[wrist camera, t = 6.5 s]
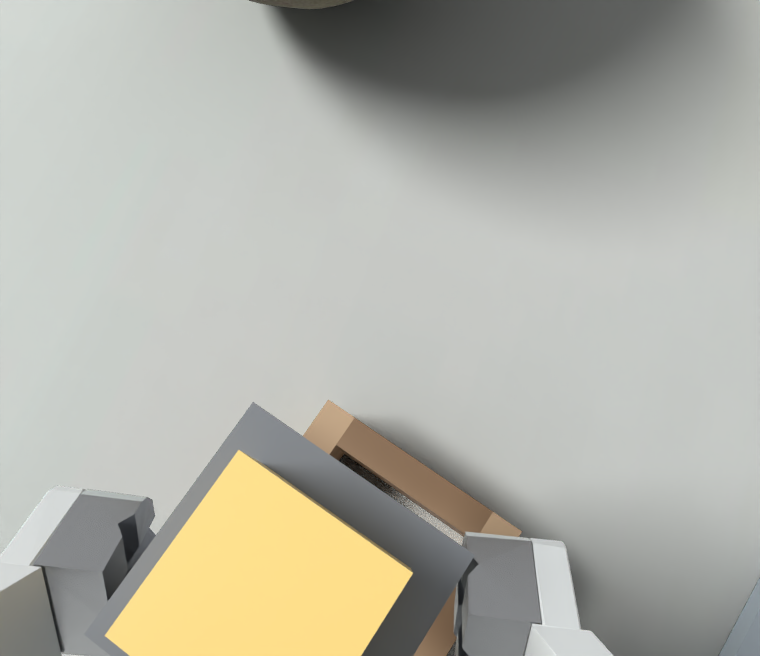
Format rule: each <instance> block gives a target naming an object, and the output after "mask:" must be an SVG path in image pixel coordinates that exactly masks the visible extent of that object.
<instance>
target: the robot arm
mask: <svg viewBox="0 0 760 656" xmlns="http://www.w3.org/2000/svg"><path fill="white" fill-rule="evenodd" d="M154 517H155V513H154V507H153V501H152V499H150V498H148V497H144V496H136V495H129V494H121V493H114V492H107V491H99V490H92V489H87V490H86V489H79V488H72V487H65V486H58V485H57V486H55V487H53V488H52V489H50V490H49V491H48V492H47V493H46V494H45V495H44V497H43V498H42V500H41V501H40V502H39V504H38V505H37V506H36V508H35V509H34V510H33V512H32V513H31V515H30V516H29V517H28V519H27V520H26V521H25V523H24V524H23V525H22V527H21V528H20V530H19V531H18V532H17V534H16V535H15V536H14V538H13V539H12V540H11V542H10V543H9V545H8V546H7V547H6V549H5V550H4V551H3V553H2V554H1V555H0V656H62V654H73V655H84V656H110V655H109V654H108V653H106V652H105V651H104V650H103V649H101V648H100V647H99V646H98V645H96V644H95V643H94V642H93V641H91V640H90V639H89V638H88V637H86V636H85V635H84V633H85V632H86V631H87V629H88V628H89V627H90V625H91V624H92V622H93V621H94V620H95V618H96V617H97V616H98V614H99V613H100V611H101V610H102V609H103V607H104V606H105V605H106V603H107V602H108V600H109V599H110V598H111V596H112V595H113V594H114V592H115V591H116V589H117V588H118V587H119V585H120V584H121V583H122V581H123V580H124V579H125V577H126V576H127V574H128V573H129V572H130V570H131V569H132V568H133V566H134V565H135V563H136V562H137V561H138V559H139V558H140V557H141V555H142V554H143V552H144V551H145V550H146V548H147V547H148V546H149V544H150V543H151V541H152V540H153V539H154V537H155V536H156V535H155V534H154V533H153V532H152V530H151V529H150V528H149V527H150V525H151V523H152V521H153V519H154ZM462 547H464V548H465V549H467V550H468V551H470V552H471V553H473V554H474V555H475V556H474V557H473V559H472V561H471V562H470V564H469V566H468V567H467V569H466V570H465V572H464V574H463V575H462V577H461V579H460V580H459V582H458V584H457V585H456V593H455V603H454V634H455V636H456V637H457V641H456V647H455V654H454V656H614V655H613V654H612V653H611V652H610V651H609V650H608V649H607V648H606V646H605V645H604V644H603V643H602V642H601V641H600V640H599V639H598V637H597V636H596V635H595V634H594V633H593V632H592V631H589V630H582V629H581V624H580V619H579V613H578V608H577V602H576V597H575V592H574V586H573V581H572V575H571V570H570V565H569V559H568V554H567V548H566V545H565V544H564V543H563V541H556V540H546V539H536V538H530V539H528V538H523V537H514V536H504V535H494V534H484V533H474V532H465V535H464V538H463V544H462ZM61 653H62V654H61Z"/></svg>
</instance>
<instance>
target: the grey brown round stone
mask: <svg viewBox="0 0 760 656" xmlns="http://www.w3.org/2000/svg"><path fill="white" fill-rule="evenodd" d="M249 1H253V2H256V3H260V4H266V5H272V6H280V7H289V8H300V9H321V8H326V7H332V6H337V5H340V4H344V3H347V2H351V1H354V0H249Z"/></svg>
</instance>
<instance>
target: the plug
mask: <svg viewBox="0 0 760 656" xmlns="http://www.w3.org/2000/svg"><path fill="white" fill-rule="evenodd" d="M474 556H475V555H474V554H473V553H471V552H470V551H468V550H467V549H465V548H464V547H462V546H461V545H460V544H458V543H457V542H455V541H454V540H452V539H451V538H449V537H448V536H447V535H445V534H444V533H442V532H441V531H439V530H438V529H436V528H435V527H434V526H432V525H431V524H429V523H428V522H426V521H425V520H423V519H422V518H420V517H419V516H418V515H416V514H415V513H413V512H412V511H410V510H409V509H407V508H406V507H405V506H403V505H402V504H400V503H399V502H397V501H396V500H394V499H393V498H391V497H390V496H389V495H387V494H386V493H384V492H383V491H381V490H380V489H378V488H377V487H376V486H374V485H373V484H371V483H370V482H368V481H367V480H365V479H364V478H362V477H361V476H360V475H358V474H357V473H355V472H354V471H352V470H351V469H349V468H348V467H347V466H345V465H344V464H342V463H341V462H339V461H338V460H336V459H335V458H334V457H332V456H331V455H329V454H328V453H326V452H325V451H323V450H322V449H320V448H319V447H318V446H316V445H315V444H313V443H312V442H310V441H309V440H307V439H306V438H305V437H303V436H302V435H300V434H299V433H297V432H296V431H294V430H293V429H291V428H290V427H289V426H287V425H286V424H284V423H283V422H281V421H280V420H278V419H277V418H276V417H274V416H273V415H271V414H270V413H268V412H267V411H265V410H264V409H262V408H261V407H260V406H258V405H257V404H255V403H254V402H253V403H252V404H251V406H250V407H249V408H248V410H247V411H246V413H245V414H244V415H243V417H242V418H241V419H240V421H239V422H238V424H237V425H236V426H235V428H234V429H233V430H232V432H231V433H230V434H229V436H228V437H227V439H226V440H225V441H224V443H223V444H222V445H221V447H220V448H219V450H218V451H217V452H216V454H215V455H214V456H213V458H212V459H211V461H210V462H209V463H208V465H207V466H206V467H205V469H204V470H203V472H202V473H201V474H200V476H199V477H198V478H197V480H196V481H195V482H194V484H193V485H192V487H191V488H190V489H189V491H188V492H187V493H186V495H185V496H184V498H183V499H182V500H181V502H180V503H179V504H178V506H177V507H176V509H175V510H174V511H173V513H172V514H171V515H170V517H169V518H168V520H167V521H166V522H165V524H164V525H163V526H162V528H161V529H160V531H159V532H158V533H157V535H156V536H155V537H154V539H153V540H152V541H151V543H150V544H149V546H148V547H147V548H146V550H145V551H144V552H143V554H142V555H141V557H140V558H139V559H138V561H137V562H136V563H135V565H134V566H133V568H132V569H131V570H130V572H129V573H128V574H127V576H126V577H125V579H124V580H123V581H122V583H121V584H120V585H119V587H118V588H117V589H116V591H115V592H114V594H113V595H112V596H111V598H110V599H109V600H108V602H107V603H106V605H105V606H104V607H103V609H102V610H101V611H100V613H99V614H98V616H97V617H96V618H95V620H94V621H93V622H92V624H91V625H90V627H89V628H88V629H87V631H86V632H85V633H84V635H85V636H86V637H88V638H89V639H90V640H91V641H93V642H94V643H95V644H96V645H98V646H99V647H100V648H101V649H103V650H104V651H105V652H106V653H108V654H109V655H110V656H413V655H414V654H415V652H416V650H417V649H418V647H419V646H420V644H421V642H422V641H423V639H424V637H425V636H426V634H427V632H428V631H429V629H430V628H431V626H432V624H433V623H434V621H435V619H436V618H437V616H438V615H439V613H440V611H441V610H442V608H443V606H444V605H445V603H446V601H447V600H448V598H449V597H450V595H451V593H452V592H453V590H454V588H455V587H456V585H457V584H458V582H459V580H460V579H461V577H462V575H463V574H464V572H465V570H466V569H467V567H468V566H469V564H470V562H471V561H472V559H473V557H474Z"/></svg>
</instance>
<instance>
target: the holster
mask: <svg viewBox="0 0 760 656" xmlns="http://www.w3.org/2000/svg"><path fill="white" fill-rule="evenodd" d="M303 437H305V438H306V439H307V440H309V441H310V442H312V443H313V444H315V445H316V446H318V447H319V448H320V449H322V450H323V451H325V452H326V453H328V454H329V455H331V456H332V457H334V458H335V459H336V460H338V461H339V460H340V459H341V457H342V456H343V455H344V454H345V455H346V456H348V457H349V458H351V459H352V460H354V461H355V462H357V463H358V464H359V465H361V466H362V467H364V468H365V469H367V470H368V471H370V472H371V473H372V474H374V475H375V476H377V477H378V478H380V479H381V480H383V481H384V482H385V483H387V484H388V485H390V486H391V487H393V488H394V489H395V490H397V491H398V492H400V493H401V494H403V495H404V496H406V497H407V498H408V499H410V500H411V501H413V502H414V503H416V504H417V505H419V506H420V507H421V508H423V509H424V510H426V511H427V512H429V513H430V514H432V515H433V516H434V517H436V518H437V519H439V520H440V521H442V522H443V523H445V524H446V525H447V526H449V527H450V528H452V529H453V530H455V531H456V532H458V533H459V534H460V535H462V536H463V537H464V535H465V532H474V533H484V534H494V535H504V536H514V537H519V536H520V534H521V533H522V531H521V530H519V529H518V528H516V527H515V526H513V525H512V524H510V523H509V522H507V521H506V520H505V519H503V518H502V517H500V516H499V515H497V514H496V513H494V512H493V511H491V510H490V509H488V508H487V507H485V506H484V505H482V504H481V503H480V502H478V501H477V500H475V499H474V498H472V497H471V496H469V495H468V494H466V493H465V492H463V491H462V490H460V489H459V488H457V487H456V486H455V485H453V484H452V483H450V482H449V481H447V480H446V479H444V478H443V477H441V476H440V475H438V474H437V473H435V472H434V471H432V470H431V469H430V468H428V467H427V466H425V465H424V464H422V463H421V462H419V461H418V460H416V459H415V458H413V457H412V456H410V455H409V454H407V453H406V452H405V451H403V450H402V449H400V448H399V447H397V446H396V445H394V444H393V443H391V442H390V441H388V440H387V439H385V438H384V437H382V436H381V435H380V434H378V433H377V432H375V431H374V430H372V429H371V428H369V427H368V426H366V425H365V424H363V423H362V422H360V421H359V420H357V419H356V418H355V417H353V416H352V415H350V414H349V413H347V412H346V411H344V410H343V409H341V408H340V407H338V406H337V405H335V404H334V403H332V402H331V401H330V400H328V401H327V402H326V404H325V405H324V406H323V408H322V409H321V411H320V412H319V414H318V415H317V416H316V418H315V419H314V421H313V422H312V424H311V425H310V426H309V428H308V429H307V431H306V432H305V434H304V435H303ZM455 593H456V587H455V588H454V590H453V592H452V593H451V595H450V597H449V598H448V600H447V601H446V603H445V605H444V606H443V608H442V610H441V611H440V613H439V615H438V616H437V618H436V619H435V621H434V623H433V624H432V626H431V628H430V629H429V631H428V632H427V634H426V636H425V637H424V639H423V641H422V642H421V644H420V646H419V647H418V649H417V650H416V652H415V654H414V655H413V656H446V655H447V654H448V652H449V650H450V649H451V647H452V646H453V644H454V642H455V641H456V639H457V637H456V636H455V634H454V603H455Z"/></svg>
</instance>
